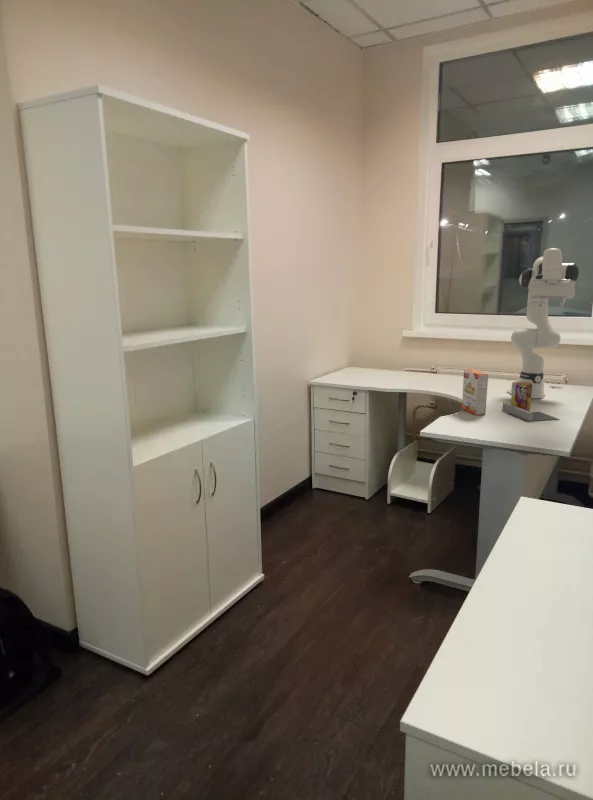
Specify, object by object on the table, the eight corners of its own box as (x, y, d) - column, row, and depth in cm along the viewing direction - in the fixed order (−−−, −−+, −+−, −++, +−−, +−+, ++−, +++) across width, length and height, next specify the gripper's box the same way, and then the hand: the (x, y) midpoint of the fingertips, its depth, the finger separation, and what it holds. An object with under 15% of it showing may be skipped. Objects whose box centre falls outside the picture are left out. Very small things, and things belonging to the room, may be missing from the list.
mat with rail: (499, 410, 294) (500, 403, 294) (531, 409, 298) (531, 401, 297) (525, 421, 272) (526, 413, 272) (559, 419, 276) (560, 411, 275)
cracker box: (460, 409, 298) (463, 369, 293) (471, 408, 299) (473, 369, 294) (475, 415, 284) (478, 374, 280) (485, 414, 286) (489, 373, 281)
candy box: (526, 410, 295) (528, 381, 292) (530, 412, 291) (533, 383, 288) (509, 410, 294) (512, 381, 291) (513, 412, 290) (516, 383, 287)
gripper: (574, 282, 270) (573, 309, 267) (528, 282, 276) (526, 308, 273) (576, 276, 264) (576, 303, 261) (529, 276, 270) (528, 302, 267)
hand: (550, 306), depth 267 cm, fingers open, 8 cm apart
